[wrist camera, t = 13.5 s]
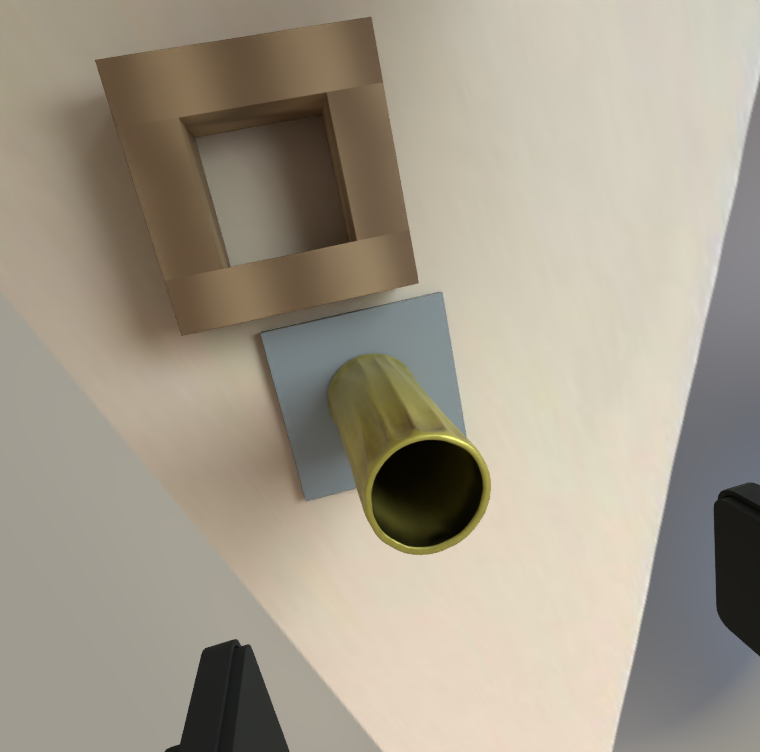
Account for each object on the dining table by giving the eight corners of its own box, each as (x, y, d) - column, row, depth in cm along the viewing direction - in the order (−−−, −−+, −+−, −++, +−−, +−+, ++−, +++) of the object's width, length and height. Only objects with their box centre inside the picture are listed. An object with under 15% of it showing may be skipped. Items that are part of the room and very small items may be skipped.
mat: (439, 291, 32) (442, 292, 32) (467, 454, 36) (470, 457, 35) (261, 332, 31) (260, 333, 31) (305, 497, 34) (305, 501, 34)
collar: (360, 49, 28) (371, 16, 25) (403, 280, 32) (418, 283, 28) (123, 88, 27) (94, 59, 23) (196, 326, 30) (181, 335, 27)
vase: (348, 454, 33) (386, 589, 20) (312, 374, 32) (326, 462, 18) (429, 418, 34) (521, 526, 20) (397, 337, 32) (475, 396, 18)
